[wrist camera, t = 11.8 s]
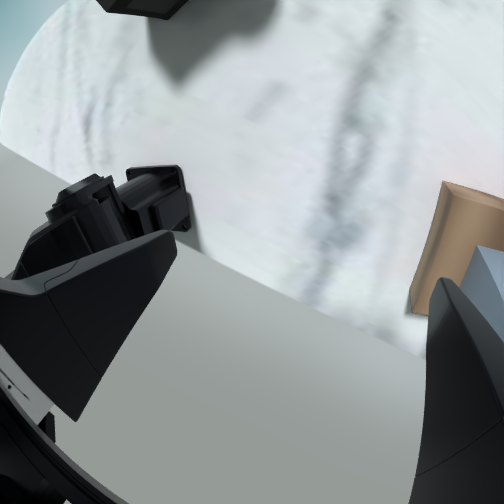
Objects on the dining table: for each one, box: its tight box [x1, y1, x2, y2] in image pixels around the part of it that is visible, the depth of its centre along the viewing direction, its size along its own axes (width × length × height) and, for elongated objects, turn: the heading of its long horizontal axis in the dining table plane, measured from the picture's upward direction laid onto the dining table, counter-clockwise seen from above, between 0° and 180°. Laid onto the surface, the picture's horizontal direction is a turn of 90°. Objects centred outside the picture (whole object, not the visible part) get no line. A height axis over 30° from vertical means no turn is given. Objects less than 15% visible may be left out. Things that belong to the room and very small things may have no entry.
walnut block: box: [410, 181, 504, 315], centre depth 17 cm, size 10×10×3 cm
